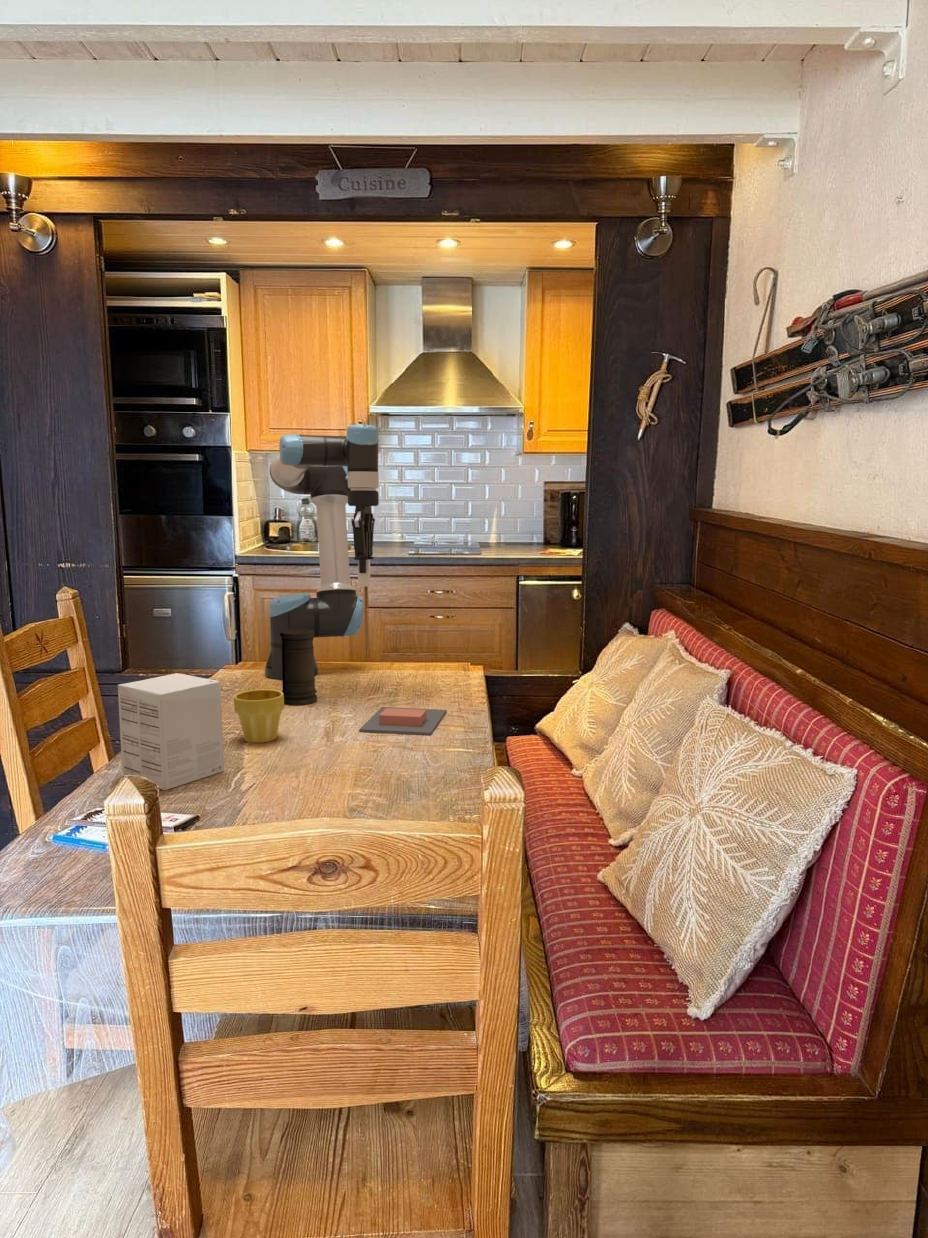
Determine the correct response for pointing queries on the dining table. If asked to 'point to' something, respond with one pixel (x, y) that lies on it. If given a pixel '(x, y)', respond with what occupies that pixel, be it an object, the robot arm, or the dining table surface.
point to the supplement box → (171, 729)
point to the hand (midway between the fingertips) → (364, 585)
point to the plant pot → (259, 713)
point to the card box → (402, 717)
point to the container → (298, 667)
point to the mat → (426, 728)
